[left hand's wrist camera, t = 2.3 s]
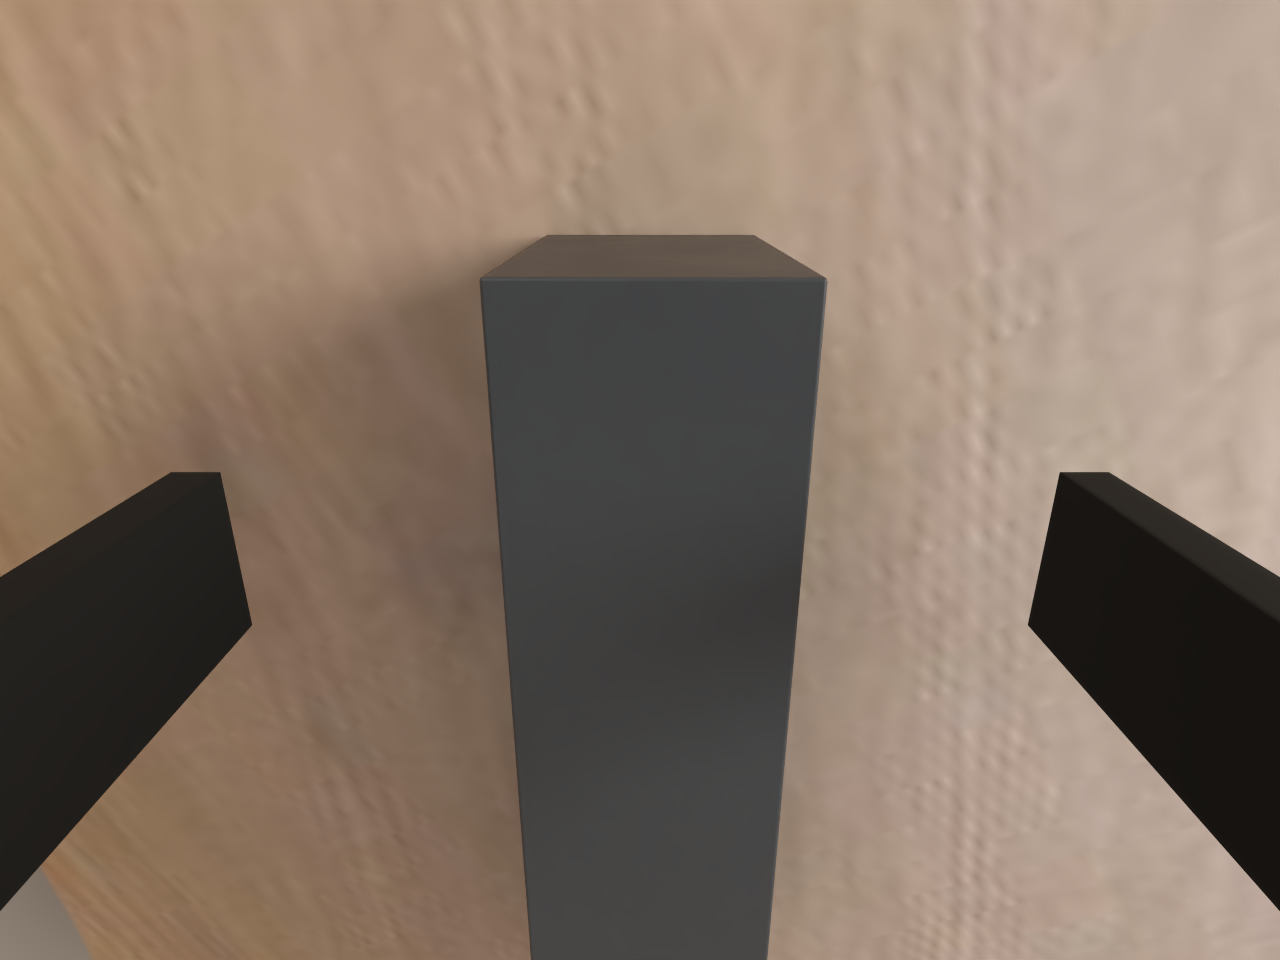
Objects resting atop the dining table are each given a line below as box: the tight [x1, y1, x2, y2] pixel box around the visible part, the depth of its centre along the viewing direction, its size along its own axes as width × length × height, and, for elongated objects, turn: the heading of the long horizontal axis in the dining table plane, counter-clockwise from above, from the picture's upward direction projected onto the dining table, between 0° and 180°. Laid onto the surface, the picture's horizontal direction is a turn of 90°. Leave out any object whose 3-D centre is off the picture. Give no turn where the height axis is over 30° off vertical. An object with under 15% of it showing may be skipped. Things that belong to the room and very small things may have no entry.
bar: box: [480, 235, 827, 960], centre depth 19 cm, size 24×5×8 cm, turn 0°
